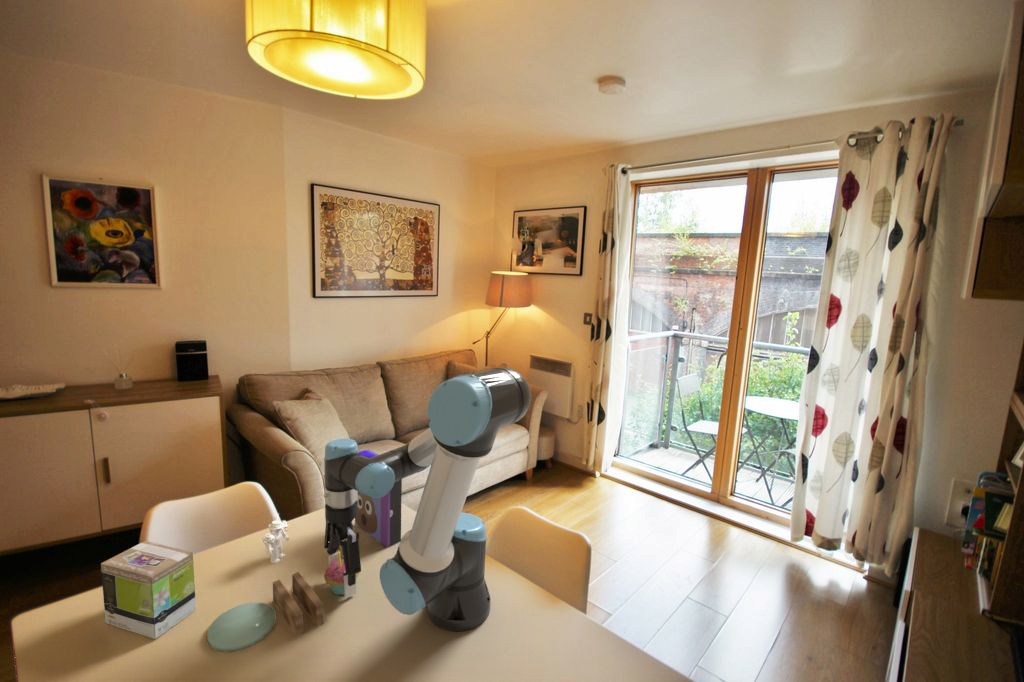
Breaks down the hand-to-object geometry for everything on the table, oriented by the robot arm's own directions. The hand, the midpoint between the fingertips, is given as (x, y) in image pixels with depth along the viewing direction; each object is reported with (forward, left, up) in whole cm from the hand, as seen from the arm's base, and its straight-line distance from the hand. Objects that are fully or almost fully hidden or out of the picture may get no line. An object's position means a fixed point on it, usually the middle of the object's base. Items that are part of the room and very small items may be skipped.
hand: (342, 585), depth 116 cm
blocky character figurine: (+23, +8, -1) cm, 24 cm away
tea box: (+19, +36, -1) cm, 41 cm away
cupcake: (0, 0, -1) cm, 1 cm away
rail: (-1, +13, -1) cm, 14 cm away
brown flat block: (-1, +9, -1) cm, 9 cm away
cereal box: (+17, -19, -1) cm, 26 cm away
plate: (+2, +22, -1) cm, 22 cm away
